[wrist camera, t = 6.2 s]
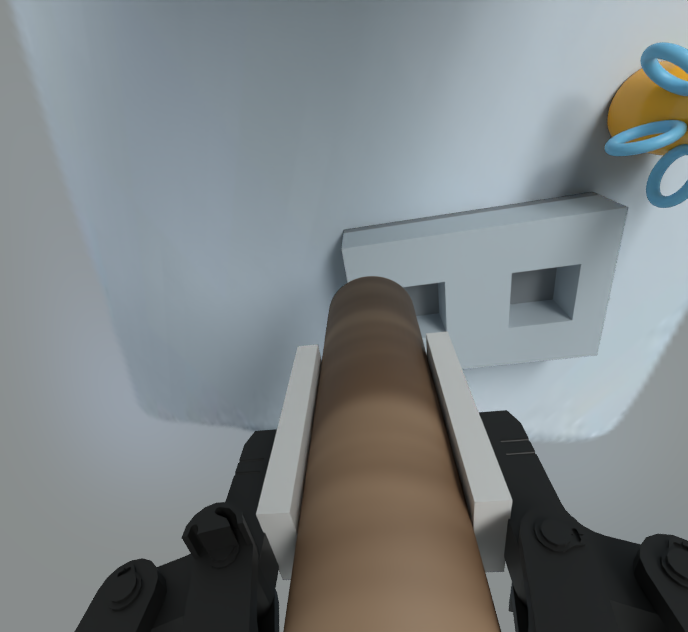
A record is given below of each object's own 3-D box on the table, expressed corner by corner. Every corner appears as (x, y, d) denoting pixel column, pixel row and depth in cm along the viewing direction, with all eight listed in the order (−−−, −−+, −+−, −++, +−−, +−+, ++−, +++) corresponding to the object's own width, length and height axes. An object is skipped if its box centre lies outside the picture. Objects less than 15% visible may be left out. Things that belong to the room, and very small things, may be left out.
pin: (322, 281, 17) (161, 1079, 3) (411, 271, 17) (684, 1135, 3) (335, 353, 19) (272, 1049, 5) (416, 346, 19) (587, 1074, 5)
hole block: (343, 229, 36) (341, 248, 31) (593, 192, 33) (628, 207, 29) (364, 350, 43) (364, 379, 38) (571, 326, 40) (597, 355, 36)
